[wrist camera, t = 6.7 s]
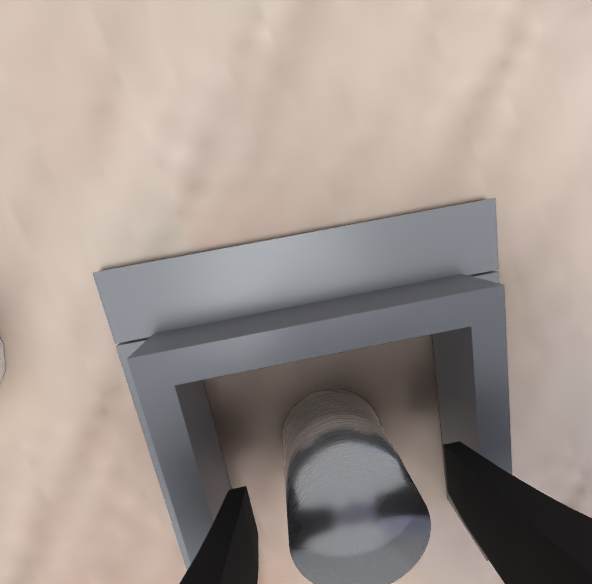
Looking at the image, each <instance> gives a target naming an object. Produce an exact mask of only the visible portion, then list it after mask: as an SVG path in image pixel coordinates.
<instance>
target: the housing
mask: <svg viewBox="0 0 592 584" xmlns="http://www.w3.org/2000/svg"><path fill="white" fill-rule="evenodd" d="M498 269H499V264H498V242H497V220H496V198H493V199H485V200H479V201H474V202H468V203H463V204H458V205H452V206H447V207H441V208H436V209H431V210H425V211H420V212H414V213H409V214H404V215H398V216H393V217H387V218H382V219H377V220H371V221H366V222H360V223H355V224H350V225H344V226H339V227H334V228H328V229H323V230H317V231H312V232H307V233H301V234H296V235H290V236H285V237H280V238H274V239H269V240H263V241H258V242H253V243H247V244H242V245H236V246H231V247H226V248H220V249H215V250H210V251H204V252H199V253H193V254H188V255H183V256H177V257H172V258H166V259H161V260H156V261H150V262H145V263H139V264H134V265H129V266H123V267H118V268H112V269H107V270H102V271H98V272H94V273H93V276H94V279H95V282H96V285H97V288H98V292H99V295H100V298H101V301H102V304H103V307H104V310H105V314H106V317H107V320H108V323H109V326H110V329H111V332H112V336H113V339H114V342H115V344H116V343H119V344H118V345H117V346H116V348H117V351H118V355H119V358H120V361H121V364H122V367H123V370H124V373H125V377H126V380H127V383H128V386H129V389H130V392H131V395H132V399H133V402H134V405H135V408H136V411H137V414H138V418H139V421H140V424H141V427H142V430H143V433H144V436H145V440H146V443H147V446H148V449H149V452H150V455H151V458H152V462H153V465H154V468H155V471H156V474H157V477H158V481H159V484H160V487H161V490H162V493H163V496H164V499H165V503H166V506H167V509H168V512H169V515H170V518H171V521H172V525H173V528H174V531H175V534H176V537H177V540H178V544H179V547H180V550H181V553H182V556H183V559H184V562H185V566H186V569H188V568H189V567H190V565H191V563H192V561H193V560H194V558H195V556H196V555H197V553H198V551H199V549H200V547H201V545H202V543H203V541H204V540H205V538H206V536H207V534H208V532H209V530H210V528H211V526H212V524H213V522H214V520H215V518H216V516H217V514H218V512H219V509H220V507H221V505H222V503H223V501H224V498H225V496H226V494H227V492H228V491H229V490H231V485H230V482H229V478H228V474H227V470H226V466H225V463H224V459H223V455H222V451H221V447H220V444H219V440H218V436H217V432H216V428H215V425H214V421H213V417H212V413H211V409H210V405H209V402H208V398H207V394H206V390H205V386H204V383H203V380H204V379H209V378H214V377H219V376H225V375H230V374H235V373H240V372H245V371H250V370H255V369H260V368H265V367H270V366H275V365H280V364H285V363H290V362H295V361H300V360H305V359H310V358H315V357H320V356H325V355H330V354H335V353H340V352H345V351H350V350H355V349H360V348H365V347H370V346H375V345H380V344H385V343H390V342H395V341H400V340H405V339H410V338H415V337H420V336H425V335H430V334H432V339H433V350H434V360H435V371H436V382H437V392H438V403H439V414H440V424H441V435H442V445H444V444H449V443H453V442H458V441H460V442H462V443H463V444H465V445H466V446H468V447H469V448H471V449H472V450H474V451H475V452H477V453H479V454H480V455H482V456H483V457H485V458H486V459H488V460H489V461H491V462H492V463H494V464H495V465H497V466H499V467H500V468H502V469H503V470H505V471H506V472H508V473H510V474H511V475H512V458H511V435H510V411H509V387H508V364H507V340H506V316H505V293H504V285H503V284H499V272H497V271H493V270H498ZM443 456H444V448H443ZM444 467H445V459H444ZM445 477H446V469H445ZM446 488H447V480H446ZM447 499H448V501H449V502H450V504H451V505H452V507H453V509H454V510H455V512H456V513H457V515H458V516H459V518H460V520H461V521H462V523H463V524H464V526H465V527H466V525H465V523H464V522H463V520H462V518H461V516H460V515H459V513H458V511H457V509H456V507H455V505H454V503H453V501H452V499H451V498H450V496H449V494H448V490H447ZM466 529H467V530H468V528H467V527H466ZM468 532H469V534H470V535H471V537H472V538H473V540H474V541H475V543H476V545H477V546H478V548H479V549H480V551H481V552H482V554H483V555H484V557H485V559H486V560H487V561H488V560H489V559H488V558H487V556H486V555H485V553H484V552H483V551H482V549H481V548H480V546H479V545H478V543H477V542H476V540H475V539H474V537H473V536H472V534H471V533H470V531H469V530H468Z"/></svg>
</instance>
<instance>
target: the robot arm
mask: <svg viewBox="0 0 592 584" xmlns="http://www.w3.org/2000/svg"><path fill="white" fill-rule="evenodd" d="M443 448H444V459H445V469H446V480H447V490H448V494H449V496H450V498H451V499H452V501H453V503H454V505H455V507H456V509H457V511H458V513H459V515H460V516H461V518H462V520H463V522H464V523H465V525H466V527H467V528H468V530H469V531H470V533H471V534H472V536H473V537H474V539H475V540H476V542H477V543H478V545H479V546H480V548H481V549H482V551H483V552H484V553H485V555H486V556H487V558H488V559H489V561H490V562H491V564H492V565H493V567H494V568H495V570H496V571H497V573H498V574H499V576H500V577H501V579H502V580H503V582H504V583H505V584H592V518H590V517H588V516H586V515H584V514H582V513H580V512H578V511H576V510H574V509H571V508H569V507H568V506H566V505H564V504H562V503H560V502H558V501H556V500H554V499H553V498H551V497H549V496H547V495H545V494H544V493H542V492H540V491H538V490H536V489H535V488H533V487H531V486H530V485H528V484H526V483H524V482H523V481H521V480H519V479H518V478H516V477H515V476H513V475H511V474H510V473H508V472H506V471H505V470H503V469H502V468H500V467H499V466H497V465H495V464H494V463H492V462H491V461H489V460H488V459H486V458H485V457H483V456H482V455H480V454H479V453H477V452H475V451H474V450H472V449H471V448H469V447H468V446H466V445H465V444H463V443H462V442H460V441H458V442H453V443H449V444H444V445H443ZM257 580H258V531H257V527H256V523H255V519H254V515H253V511H252V507H251V503H250V499H249V495H248V491H247V487H246V486H245V487H240V488H235V489H231V490H229V491H228V492H227V494H226V496H225V498H224V501H223V503H222V505H221V507H220V509H219V512H218V514H217V516H216V518H215V520H214V522H213V524H212V526H211V528H210V530H209V532H208V534H207V536H206V538H205V540H204V541H203V543H202V545H201V547H200V549H199V551H198V553H197V555H196V556H195V558H194V560H193V561H192V563H191V565H190V567H189V568H188V570H187V572H186V574H185V575H184V577H183V579H182V580H181V582H180V584H257Z"/></svg>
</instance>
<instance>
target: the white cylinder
mask: <svg viewBox="0 0 592 584" xmlns="http://www.w3.org/2000/svg"><path fill="white" fill-rule="evenodd" d="M5 370H6V369H5V357H4V345H3V342H2V341H1V339H0V382H1V380H2V377H3V375H4V373H5Z"/></svg>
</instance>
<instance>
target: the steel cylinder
mask: <svg viewBox="0 0 592 584" xmlns="http://www.w3.org/2000/svg"><path fill="white" fill-rule="evenodd" d="M283 453H284V469H285V485H286V502H287V518H288V534H289V547H290V553H291V556H292V559H293V561H294V563H295V565H296V567H297V568H298V570H299V571H300V573H301V574H302V575H303V576H304V577H305V578H307V579H308V580H309V581H311V582H312V583H314V584H391V583H393V582H395V581H396V580H398V579H399V578H401V577H402V576H404V575H405V574H406V573H407V572H408V571H410V570H411V569H412V567H413V566H414V565H415V564H416V563H417V562H418V560H419V559H420V558H421V556H422V554H423V553H424V551H425V549H426V546H427V544H428V541H429V537H430V531H431V521H430V515H429V512H428V509H427V506H426V504H425V503H424V501H423V499H422V497H421V495H420V493H419V492H418V490H417V488H416V486H415V484H414V483H413V481H412V479H411V477H410V475H409V474H408V472H407V470H406V468H405V466H404V465H403V463H402V461H401V459H400V457H399V455H398V454H397V452H396V450H395V448H394V446H393V445H392V443H391V441H390V439H389V437H388V436H387V434H386V432H385V430H384V428H383V426H382V425H381V423H380V421H379V419H378V417H377V416H376V414H375V412H374V410H373V408H372V407H371V406H370V404H369V403H368V402H367V401H366V400H365V399H363V398H362V397H360V396H359V395H357V394H355V393H352V392H350V391H346V390H340V389H328V390H322V391H319V392H316V393H313V394H311V395H309V396H307V397H305V398H304V399H302V400H301V401H300V402H299V403H297V404H296V405H295V406H294V408H293V409H292V410H291V411H290V413H289V415H288V416H287V418H286V421H285V424H284V427H283Z"/></svg>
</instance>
